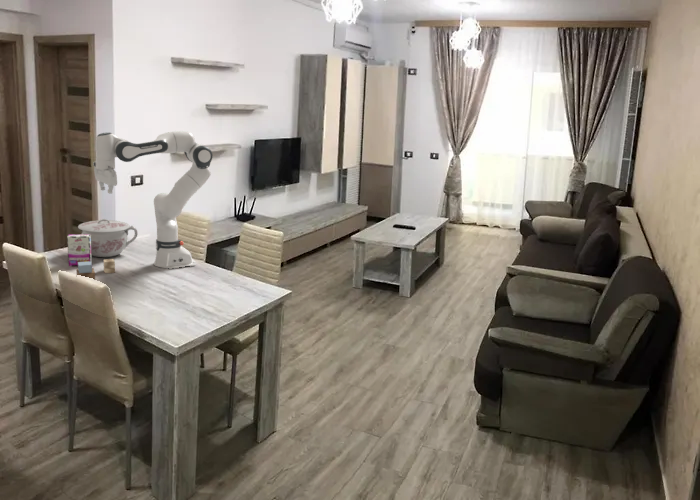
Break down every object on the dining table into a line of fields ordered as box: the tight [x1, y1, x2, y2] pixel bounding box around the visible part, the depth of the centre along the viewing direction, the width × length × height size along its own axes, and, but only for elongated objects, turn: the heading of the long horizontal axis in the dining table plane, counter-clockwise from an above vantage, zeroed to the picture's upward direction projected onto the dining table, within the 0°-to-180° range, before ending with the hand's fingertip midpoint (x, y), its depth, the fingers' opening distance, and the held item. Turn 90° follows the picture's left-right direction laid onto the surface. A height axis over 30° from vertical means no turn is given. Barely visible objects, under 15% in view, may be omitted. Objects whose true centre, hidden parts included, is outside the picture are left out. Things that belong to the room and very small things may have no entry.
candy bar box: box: [66, 234, 93, 267], centre depth 325 cm, size 11×5×16 cm, turn 105°
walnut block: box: [75, 267, 96, 280], centre depth 307 cm, size 8×8×4 cm
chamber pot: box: [77, 218, 138, 258], centre depth 346 cm, size 28×28×21 cm
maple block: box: [103, 258, 116, 274], centre depth 319 cm, size 5×5×6 cm
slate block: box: [77, 261, 93, 273], centre depth 306 cm, size 6×6×4 cm
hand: (106, 191), depth 314 cm, fingers open, 8 cm apart
